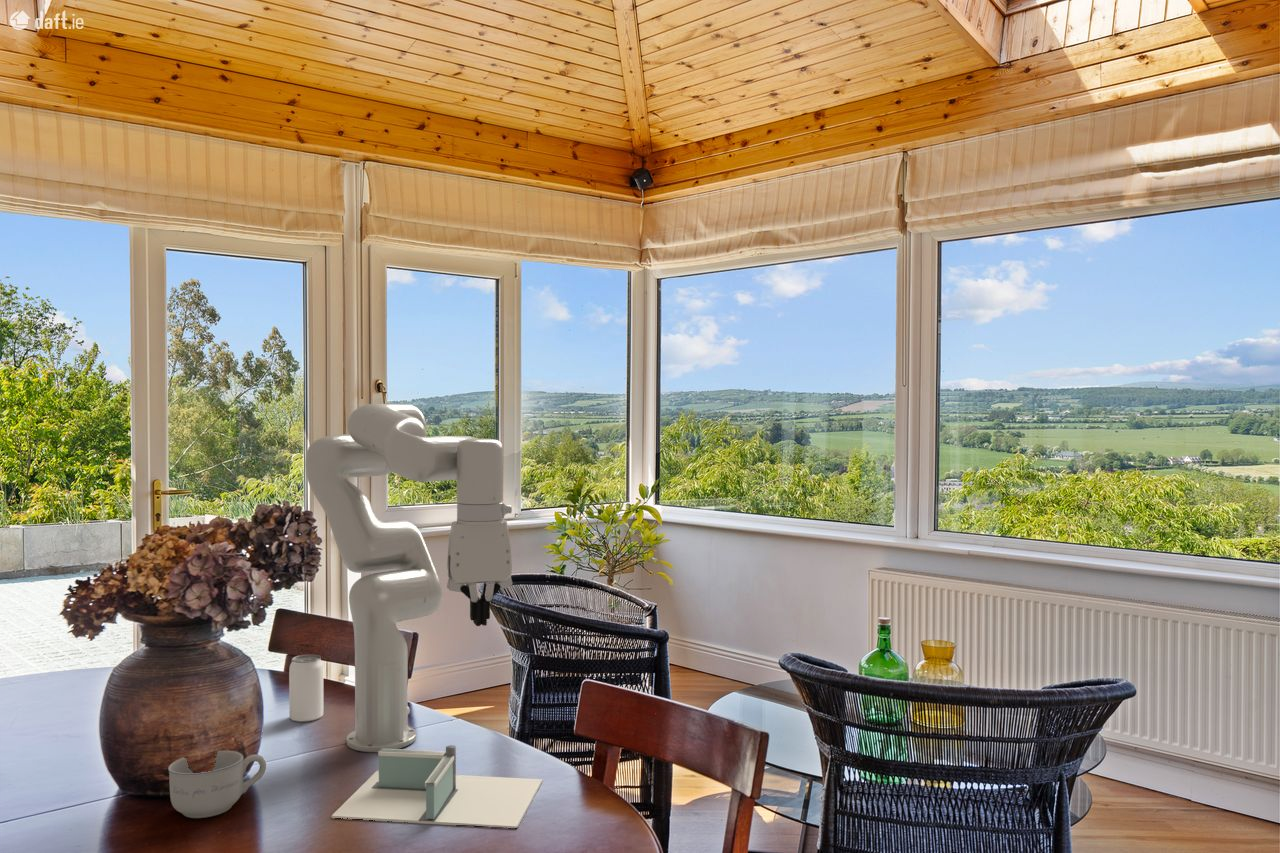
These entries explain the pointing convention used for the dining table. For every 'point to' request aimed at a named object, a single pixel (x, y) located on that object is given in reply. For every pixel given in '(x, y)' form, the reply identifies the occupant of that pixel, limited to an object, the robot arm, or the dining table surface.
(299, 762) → the dining table surface
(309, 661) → the can
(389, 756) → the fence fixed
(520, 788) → the card
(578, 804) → the dining table surface
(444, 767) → the pale open channel
